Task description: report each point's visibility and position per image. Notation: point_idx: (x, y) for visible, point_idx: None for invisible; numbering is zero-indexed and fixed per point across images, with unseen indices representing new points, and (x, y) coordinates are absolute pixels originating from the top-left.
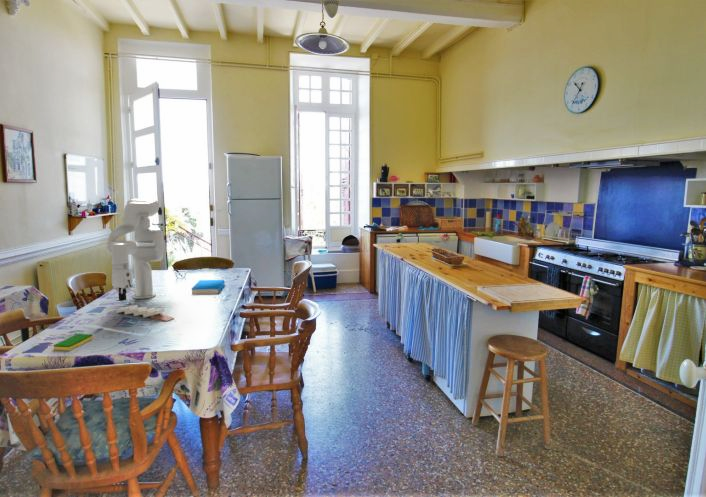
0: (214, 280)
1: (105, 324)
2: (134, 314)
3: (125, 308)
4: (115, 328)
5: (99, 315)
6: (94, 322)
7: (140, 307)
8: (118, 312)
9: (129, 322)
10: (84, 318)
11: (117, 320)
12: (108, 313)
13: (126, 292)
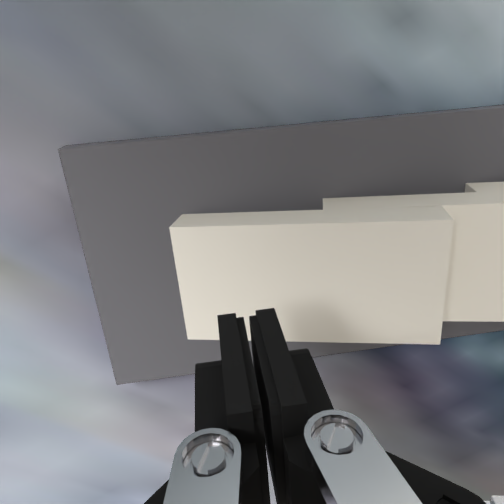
0: None
1: None
2: None
3: (362, 341)
4: (497, 477)
5: (64, 401)
6: None
7: (492, 203)
8: None
9: (496, 365)
10: (52, 499)
11: (359, 389)
12: (136, 370)
13: (350, 416)
